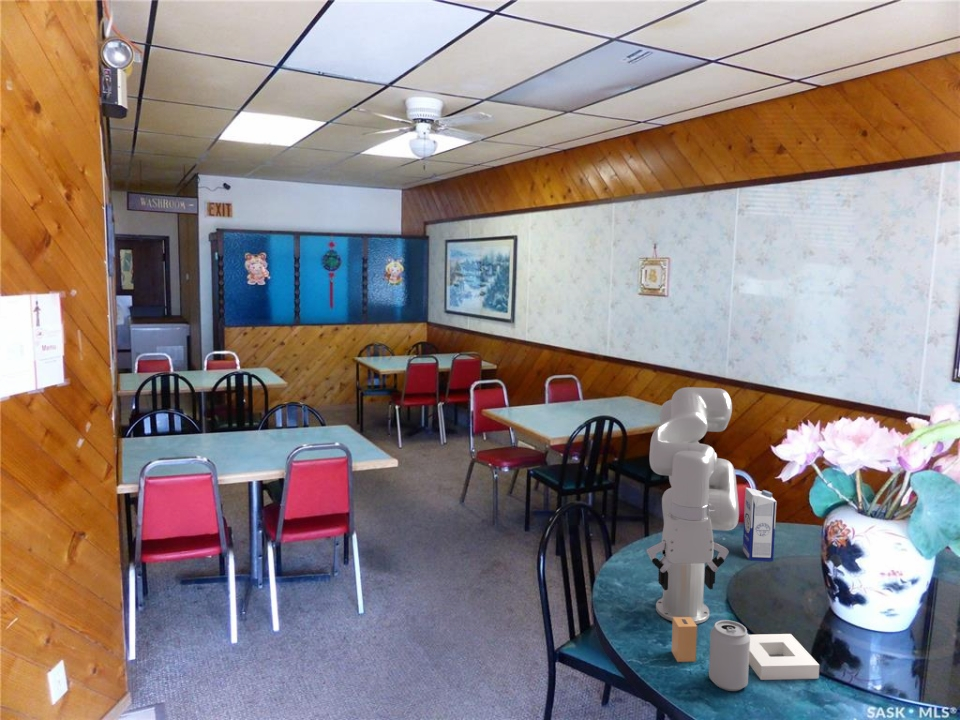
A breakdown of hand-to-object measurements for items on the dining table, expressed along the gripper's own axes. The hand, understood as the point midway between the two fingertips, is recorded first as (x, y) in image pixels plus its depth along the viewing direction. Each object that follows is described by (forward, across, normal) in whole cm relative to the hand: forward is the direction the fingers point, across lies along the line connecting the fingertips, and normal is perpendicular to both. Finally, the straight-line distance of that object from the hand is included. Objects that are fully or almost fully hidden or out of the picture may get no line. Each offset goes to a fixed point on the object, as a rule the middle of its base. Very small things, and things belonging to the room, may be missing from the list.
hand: (686, 586), depth 143 cm
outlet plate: (+16, -19, +3) cm, 25 cm away
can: (+16, -6, +9) cm, 20 cm away
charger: (+16, 0, 0) cm, 16 cm away
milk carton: (+16, -39, -51) cm, 66 cm away
